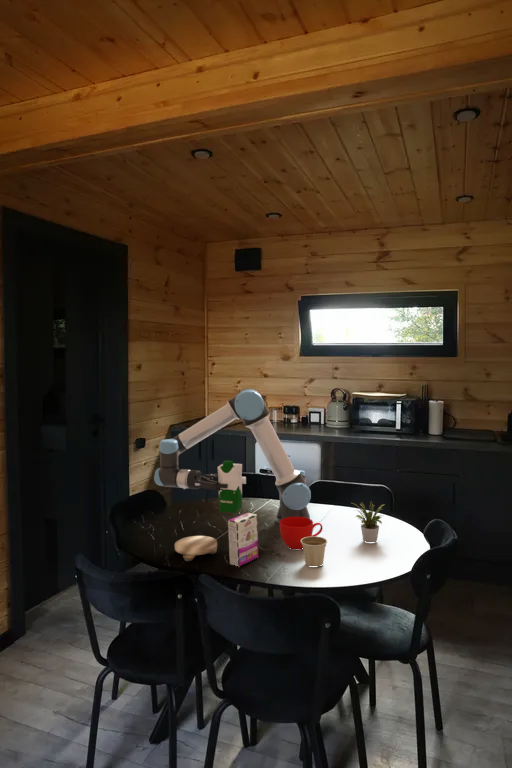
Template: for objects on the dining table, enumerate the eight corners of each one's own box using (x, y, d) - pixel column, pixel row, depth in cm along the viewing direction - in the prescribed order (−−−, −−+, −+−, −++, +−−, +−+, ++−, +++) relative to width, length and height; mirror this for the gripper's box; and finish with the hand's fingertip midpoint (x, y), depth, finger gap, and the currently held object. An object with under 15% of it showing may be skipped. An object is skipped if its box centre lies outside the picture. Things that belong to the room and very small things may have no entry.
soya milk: (216, 512, 206) (215, 461, 205) (225, 505, 214) (224, 457, 213) (237, 514, 203) (236, 463, 202) (245, 507, 211) (244, 458, 210)
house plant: (345, 545, 204) (344, 504, 203) (352, 533, 217) (351, 495, 216) (382, 550, 199) (382, 507, 198) (387, 537, 211) (387, 497, 210)
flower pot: (299, 560, 191) (298, 536, 190) (324, 558, 192) (324, 535, 191) (303, 570, 181) (303, 546, 181) (330, 569, 182) (329, 544, 182)
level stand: (224, 548, 204) (223, 538, 203) (205, 564, 189) (205, 553, 188) (187, 543, 209) (187, 533, 209) (167, 558, 194) (166, 548, 194)
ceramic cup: (327, 551, 199) (327, 525, 198) (283, 554, 196) (283, 528, 195) (317, 539, 211) (317, 514, 211) (276, 542, 209) (276, 517, 208)
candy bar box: (248, 554, 197) (248, 511, 196) (259, 557, 193) (258, 514, 192) (228, 564, 188) (227, 519, 187) (238, 567, 185) (237, 522, 184)
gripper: (202, 482, 225) (251, 486, 217) (177, 495, 205) (229, 500, 196) (202, 464, 224) (251, 468, 216) (176, 476, 204) (229, 480, 196)
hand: (240, 483), depth 206 cm, fingers closed on soya milk, 9 cm apart
